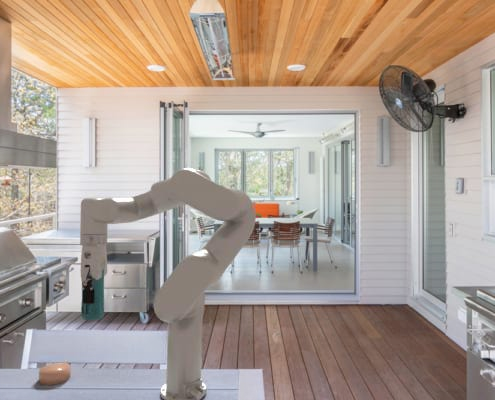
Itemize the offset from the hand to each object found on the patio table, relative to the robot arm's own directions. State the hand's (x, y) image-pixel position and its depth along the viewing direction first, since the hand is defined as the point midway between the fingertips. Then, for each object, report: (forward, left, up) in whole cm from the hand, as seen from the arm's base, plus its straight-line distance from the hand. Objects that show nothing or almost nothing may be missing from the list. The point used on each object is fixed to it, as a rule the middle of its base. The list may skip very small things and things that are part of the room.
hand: (92, 299), depth 119 cm
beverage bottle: (0, 0, -7) cm, 7 cm away
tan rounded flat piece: (+7, +8, -24) cm, 26 cm away
